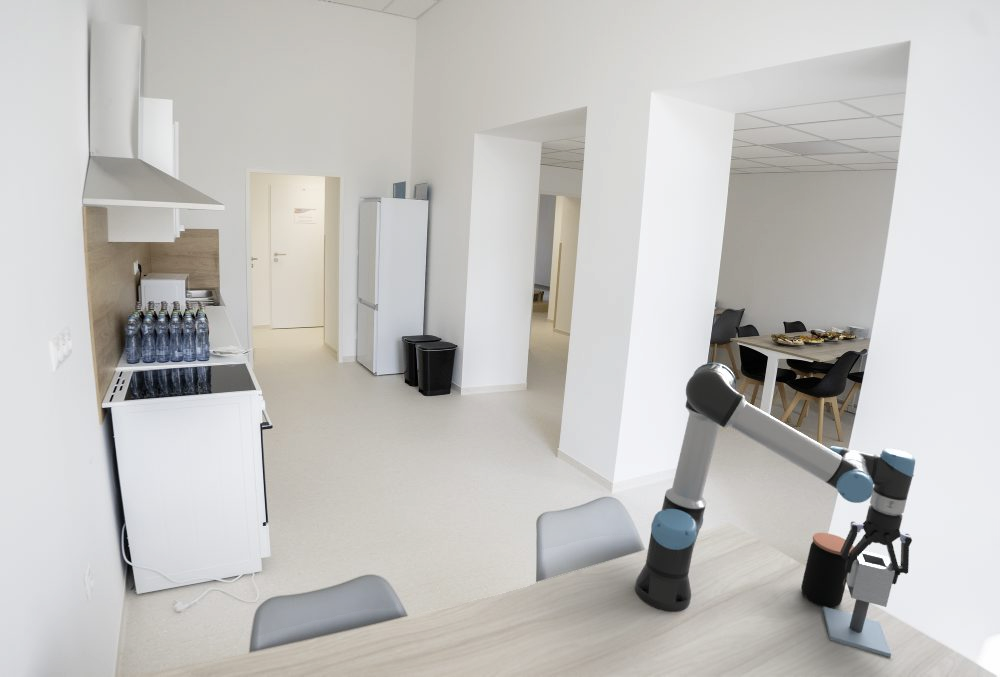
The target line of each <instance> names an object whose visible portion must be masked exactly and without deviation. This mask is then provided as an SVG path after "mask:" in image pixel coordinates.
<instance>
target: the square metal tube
mask: <svg viewBox="0 0 1000 677" xmlns="http://www.w3.org/2000/svg"><path fill="white" fill-rule="evenodd" d="M855 562H856V568H855V572H854V576H853V580H852V585H851V587H850V586H848V584H847V581H846V585H847V588H848V592H849V595H850V597H851V599H853V600H856V599H858V600H861V601H865V602H869V604H873V605H878V606H880V607H885V608H886V607H887V605H888V602H889V597H890V594H891V589H892V585H893V584H892V582H893V578H894V574H895V571H894V569H893V567H892V565H891V561H890V557H889V556H886V555H882V554H878V553H874V552H869V551H865V550H864V551H863V552H862V553H861V554H860V555H859V556H858V557H857V559H856V560H855Z"/></svg>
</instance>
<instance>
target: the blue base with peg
mask: <svg viewBox="0 0 1000 677" xmlns="http://www.w3.org/2000/svg"><path fill="white" fill-rule="evenodd" d="M854 602H855V603H854V606H853V611H852V613H850V612H849V613H848V612H845V611H842V610H838V609H834V608H828V607H822V613H823V616H824V621H825V624H826V628H827V632H828V638H829V640H830V641H834V642H836V643H840V644H844V645H847V646H851V647H854V648H858V649H859V650H860V649H861V650H864V651H868V652H870V653H875V654H878V655H881V656H885V657H888V658H891V656H892V651H891V649H890V647H889V644H888V641H887V639H886V635H885V633H884V631H883V628H882V625H881V623H880V622H881V621H877V620H875V619H870V618H866V616H867V613H868V609H869V606H870V603H869V602H865V601H861V600H858V599H855V601H854Z"/></svg>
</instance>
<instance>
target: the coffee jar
mask: <svg viewBox="0 0 1000 677" xmlns="http://www.w3.org/2000/svg"><path fill="white" fill-rule="evenodd" d="M845 540H846V538H843V537H841V536H838V535H835V534H832V533H828V532H817V533H814V534H813V536H812V542H811V543H810V546H809V552H808V556H807V559H806V564H805V569H804V573H803V578H802V582H801V586H800V587H801V588H800V589H801V593H802V594H803V596H804V598H805V599H806V600H807V601H809V602H810V603H812V604H814V605H816V606H818V607H821V608H823V607H828V608H831V609H834V608H837V607H838V606H840V605H841V604H842V602H843V601H842V600H843V597H844V593H845V588H846V585H847V582H846V580H847V575H848V573H847V572H846V570H845V565H846V561H847V560H846V559H844V558H842V556H841V553H840V551H841V549H842V547H843V544H844V542H845ZM854 547H855V546H854V544H853V545H852V547H851V549H850V551H851V550H852V549H853V548H854ZM850 551H849V553H850ZM849 553H848V554H849Z"/></svg>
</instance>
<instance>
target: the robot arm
mask: <svg viewBox="0 0 1000 677" xmlns="http://www.w3.org/2000/svg"><path fill="white" fill-rule="evenodd" d="M736 388H737V379H736V376H735V374H734V373H733V371H732V370H731V369H730V368H729V367H728V366H727V365H724V364H723V363H720V362H707V363H705V364H701V366H699V367H697V368H696V369H695V370H694V372H693V374H692V376H691V377H690V378H689V379H688V381H687V384H686V387H685V396H686V402H685V409H686V410H687V412H688V413H689V415H688V418H687V422H686V428H685V432H684V435H683V440H682V444H681V447H680V448H681V449H680V454H679V457H678V462H677V464H676V465H677V467H676V469H675V475H674V479H673V483H672V487H671V488H669V489H667V490H665V495H664V498H663V504H662V508H661V510H660V511H658V512H656V514H655V515H654V517H653V520H652V522H651V527H650V528H651V529H650V537H649V542H648V549H647V554H646V560H645V564H644V566H643V568H642V569H641V571H640V573H639V575H638V576H637V578H636V581H635V587H634V589H635V593H636V594H637V596H638V597H639V598H640V599H641V600H642V601H643V602H644V603H646V604H647V605H649V606H651V607H653V608H655V609H656V608H657V609H658V610H663V611H667V612H677V611H682V610H683V611H684V610H685V609H686V608H688V607H689V606H690V604H691V597H692V590H691V585H690V584H691V583H690V578H689V572H690V567H691V562H692V557H693V552H694V547H695V545H696V544H695V543H696V541H697V539H698V536H699V533H700V530H701V528H702V526H703V523H704V515H705V509H706V505H707V502H706V499H704V497H703V495H704V494H703V493H704V491H705V486H706V482H707V478H708V475H709V474H708V473H709V470H710V466H711V462H712V457H713V452H714V449H715V445H716V441H717V438H718V433H719V429H720V426H721V427H722V428H724V429H726V428H732V429H734V430H735V431H736V432H739V433H740V434H742V435H744V436H745V437H747V438H749V439H750V440H752V441H754V442H756V443H757V444H759V445H761V446H762V447H765V448H766V449H768V450H769V451H771V452H773V453H774V454H776V455H778V456H779V457H782V458H783V459H785V460H787V461H789V462H790V463H792V464H794V465H795V466H796V467H799V468H800V469H802V470H804V471H806V473H807V472H808V473H809V474H810V475H812V476H814V477H815V478H818V479H819V480H821V481H822V482H825V483H826V484H828V485H829V486H830V487H832V488H834V489H836V491H837V492H838V493H839V495H840V496H841V498H843V499H844V500H846V501H848V502H850V503H854V504H858V503H859V504H861V503H863V502H867V501H868V500H869V499H870V501H869V504H870V505H869V506H868V509H867V514H866V518H865V521H864V522H863V523H856V522H855V521H851V522H850V530H849V532H848V534H847V536H846V538H845V542H844V544H843V547H842V549H841V551H840V553H841V556H842V558H844V559H846V560H847V561H846V565H845V570H846V572H847V573H848V575H847V580H846V581H847V582H846V585H847V584H848V585H847V587H848V586H850V587H851V585H852V580H853V576H854V572H855V568H856V562H855V560H856V559H857V557H858V556H859V555H860V554H861V553H862V552H863V551H865V550H866V548H867V547H868V546H871V544H872V543H874V544H880V545H882V546H886V549H887V553H888V558H889V560H890V563H891V565H892V567H893V569H894V571H895V574H894V578H893V582H892V585H896V584H897V581H898V579H899V576H900V575H901V574H905V575H907V574H908V573H909V566H910V565H909V564H910V563H909V560H910V545H911V543H912V541H913V540H912V537H911V536H910V534H909V533H902V532H901V531H900V529H901V525H902V522H903V517H904V516H903V514H904V513H905V507H906V505H907V504H906V503H907V500H908V496H909V492H910V488H911V483H912V480H913V478H914V471H915V465H916V459H915V457H914V456H913V455H912V454H911V453H908V452H906V451H904V450H903V451H902V450H900V449H896V448H884V449H882V451H881V453H880V454H874V453H873V454H872V453H868V452H863V451H858V450H854V449H850V448H847V447H843V446H842V447H840V446H834V445H832V446H829V447H826V446H825V445H823V444H821V443H820V442H818V441H816V440H814V439H812V438H810V436H809V437H808V436H807V435H806V434H804V433H803V432H800V431H798V430H796V429H795V428H793V427H791V426H790V425H788V424H786V423H784V422H782V421H780V420H779V419H777V418H775V417H774V416H772V415H771V414H768V413H767V412H765V411H763V410H761V409H760V408H758V407H756V406H755V405H752V404H751V403H749V402H747V400H746V397H745V396H744V395H743V394H741V393H739V392H738V391H736ZM861 530H864V534H863V535H862V538H861V539H860V540H859V541H858V543H857V544H856V545H855V546H854V544H855V540H857V539H856V538H857V537H858V536H857V535H858V533H860V532H861ZM898 539H899V541H900V542H901V543H900V565H899V563H898V561H897V557H896V553H895V550H894V545H893V542H895V541H896V540H898ZM852 545H853V547H854V548H853V549H852V550H851V551H850V549H851V547H852ZM849 551H850V553H849ZM848 553H849V554H848Z"/></svg>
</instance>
